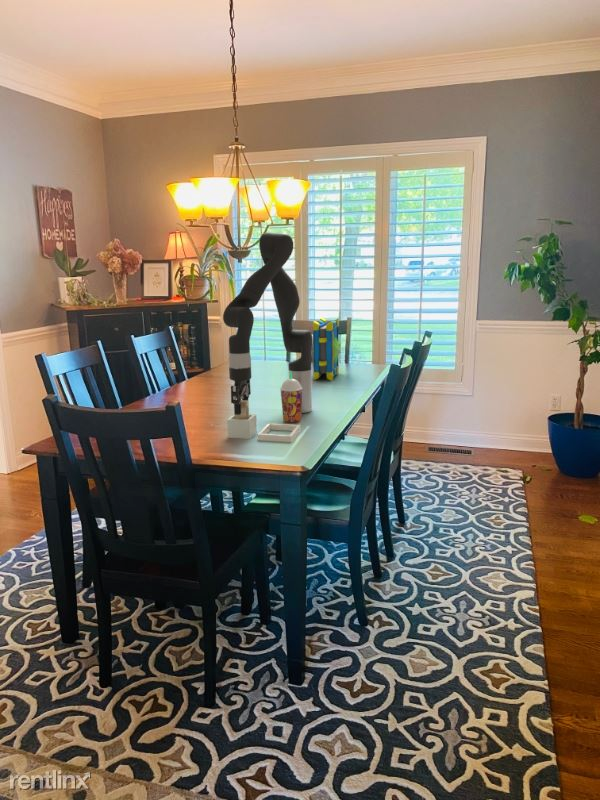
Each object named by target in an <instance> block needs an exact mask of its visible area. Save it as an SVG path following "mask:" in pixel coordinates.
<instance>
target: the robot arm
mask: <svg viewBox="0 0 600 800" xmlns="http://www.w3.org/2000/svg"><path fill="white" fill-rule="evenodd" d="M258 245H259V246H258V247H259V252H260V256H261V259H262V261H263V264H264V265H263V266H261V267H260V268H259V269H258V270H256V271H255V272H253V273H252V274H251V275H250V276H249V277H248V278H247V279H246V281H245V283H244V284H243V286H242V288H241V290H240V292H239V294H238V295H236V296H235V298H233V300H231V302H229V304H227V306H226V307H225V309H224V311H223V313H222V314H223V315H222V320H223V323H224V324H225V325H226V326H227V327H230V328H234V329H235V328H237V330H236V333H235V334H233V335H230V336H229V338H228V352H229V354H228V369H229V371H228V372H229V373H228V375H229V376H228V377H229V379H230V381H234V385H231V386H230V403H231V404H233V412H234V413H233V414H235V415H240V414H241V400H248V401H249V398H250V396H251V394H252V393H251V391H252V390H251V379H252V358H251V357H252V356H251V352H250V351H251V349H250V345H251V344H250V341H251V334H252V332H253V326H254V322H255V321H254V320H255V319H254V318H255V317H254V313H253V311H252V309H251V308H254V307H256V306H257V305H258V303H259V302H260V300H261V298H262V297H263V294H264V292H265V291H266V289H267V288H268V286H269V285H271V289H272V295H273V299H274V302H275V306H276V310H277V314H278V317H279V322H280V327H281V334H282V335H281V336H282V341H283V345H284V349H285V350H286V351H287V352H289V353H293V354H295V353H297V354H300V357H299V358H297V359H295V360H292V361H290V362H289V363H288V379H290V371H292V379H296V380H297V381H298V382H299V383H300V384H301V387H302V410H301V414H303V413H309V412H312V410H313V408H312V406H313V401H312V400H313V397H312V393H313V392H312V389H313V388H312V362H313V361H312V360H313V333H312V332H311V331H310V329H309V330H308V329H294V328H293V319H294V317H295V316H296V314H297V312H298V309H299V306H300V296H299V291H298V287H297V285H296V283H295V282H294V280H293V279H292V278H291V276H290V275H289V274H288V273H287V272H286V270H285V269H284V266H285V264H286V263H287V262H288V260H289V259H290V257H291V256H292V253H293V251H294V239H293V238H292V236H291V235H289V234H287V233H281V232H264V233H263V234H261V236H260V238H259V243H258Z"/></svg>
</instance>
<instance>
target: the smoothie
mask: <svg viewBox="0 0 600 800" xmlns="http://www.w3.org/2000/svg"><path fill="white" fill-rule="evenodd" d="M279 388H280V390H279V391H280V397H281V399H280V400H281V408H282V418H283V419H282V420H283V421H284V422H285V423H287V424H288V423H290V424H294V423H299V422H301V420H302V413H301V410H302V387H301V384H300V383H299V382H298V381H297V380H296V379H292V371H290V379H289V378H287V379H286V380H284V381H283V382H282V384H281V387H279Z"/></svg>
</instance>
